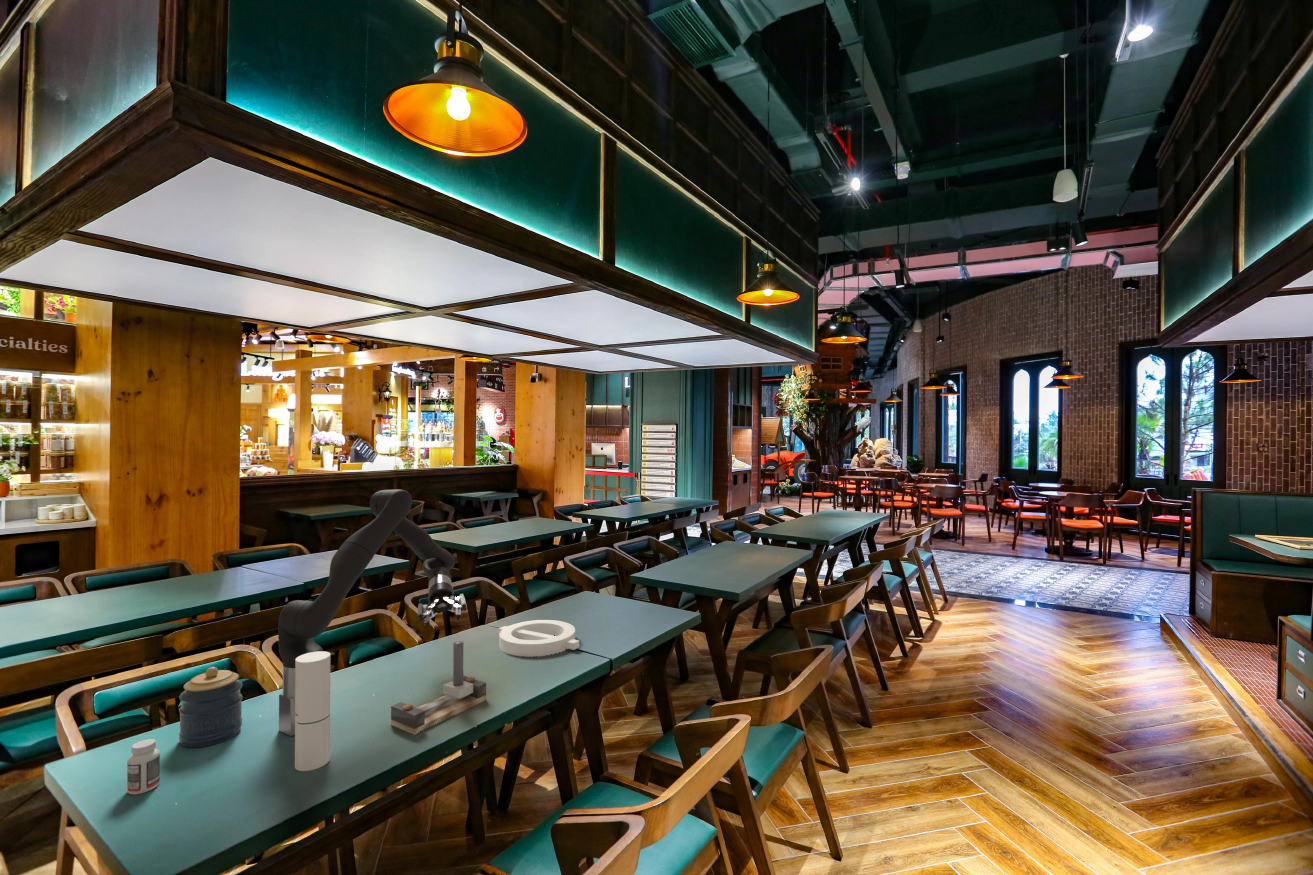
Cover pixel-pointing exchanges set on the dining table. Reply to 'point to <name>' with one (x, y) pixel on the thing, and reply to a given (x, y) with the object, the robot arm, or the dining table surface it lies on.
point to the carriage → (458, 675)
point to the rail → (442, 713)
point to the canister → (210, 708)
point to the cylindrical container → (312, 710)
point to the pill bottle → (143, 767)
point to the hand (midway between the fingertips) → (443, 621)
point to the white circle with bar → (537, 638)
